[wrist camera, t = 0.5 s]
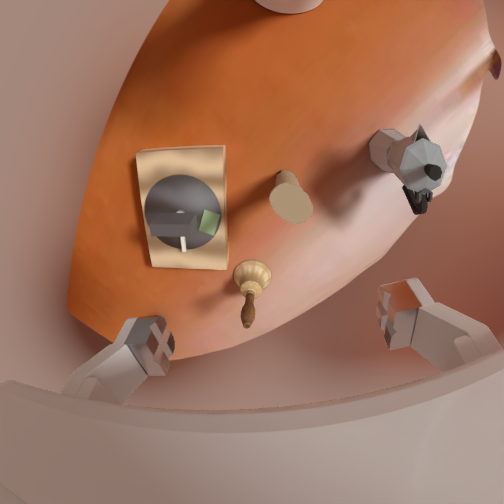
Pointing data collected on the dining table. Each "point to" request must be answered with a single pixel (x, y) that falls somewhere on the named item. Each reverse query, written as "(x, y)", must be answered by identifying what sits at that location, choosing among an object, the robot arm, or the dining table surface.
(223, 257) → the wooden record turntable
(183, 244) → the lever
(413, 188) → the coffee maker
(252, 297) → the hand bell
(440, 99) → the dining table surface
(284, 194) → the handle
